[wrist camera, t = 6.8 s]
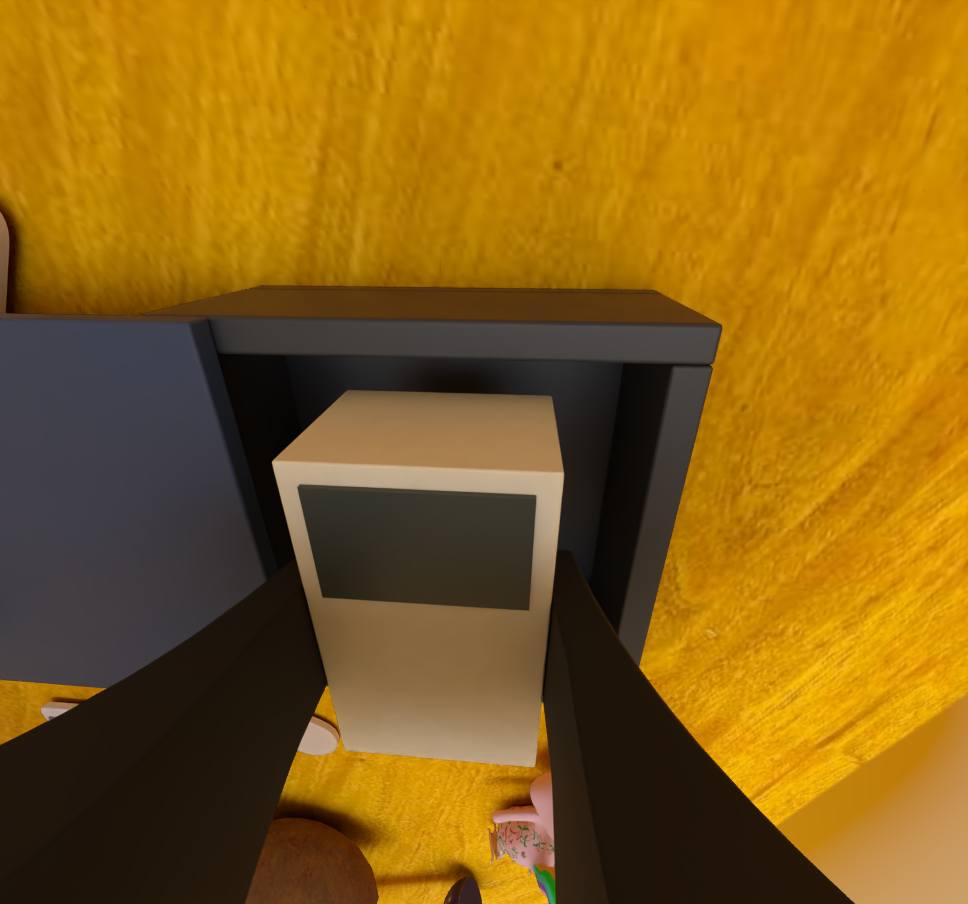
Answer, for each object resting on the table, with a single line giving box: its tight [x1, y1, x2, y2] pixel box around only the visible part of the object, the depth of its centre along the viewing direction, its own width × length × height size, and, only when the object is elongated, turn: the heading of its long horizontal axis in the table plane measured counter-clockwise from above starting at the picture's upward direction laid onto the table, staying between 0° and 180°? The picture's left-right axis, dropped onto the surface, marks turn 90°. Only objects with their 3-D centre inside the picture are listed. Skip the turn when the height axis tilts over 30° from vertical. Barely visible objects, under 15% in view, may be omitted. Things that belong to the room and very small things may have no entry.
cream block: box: [272, 390, 564, 767], centre depth 10 cm, size 8×5×4 cm, turn 0°
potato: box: [245, 817, 379, 904], centre depth 26 cm, size 7×12×7 cm
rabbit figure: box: [487, 771, 556, 904], centre depth 21 cm, size 6×6×15 cm
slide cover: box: [0, 313, 278, 688], centre depth 11 cm, size 12×12×2 cm
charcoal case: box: [140, 286, 722, 703], centre depth 13 cm, size 12×12×5 cm
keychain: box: [298, 716, 339, 755], centre depth 23 cm, size 10×1×3 cm
